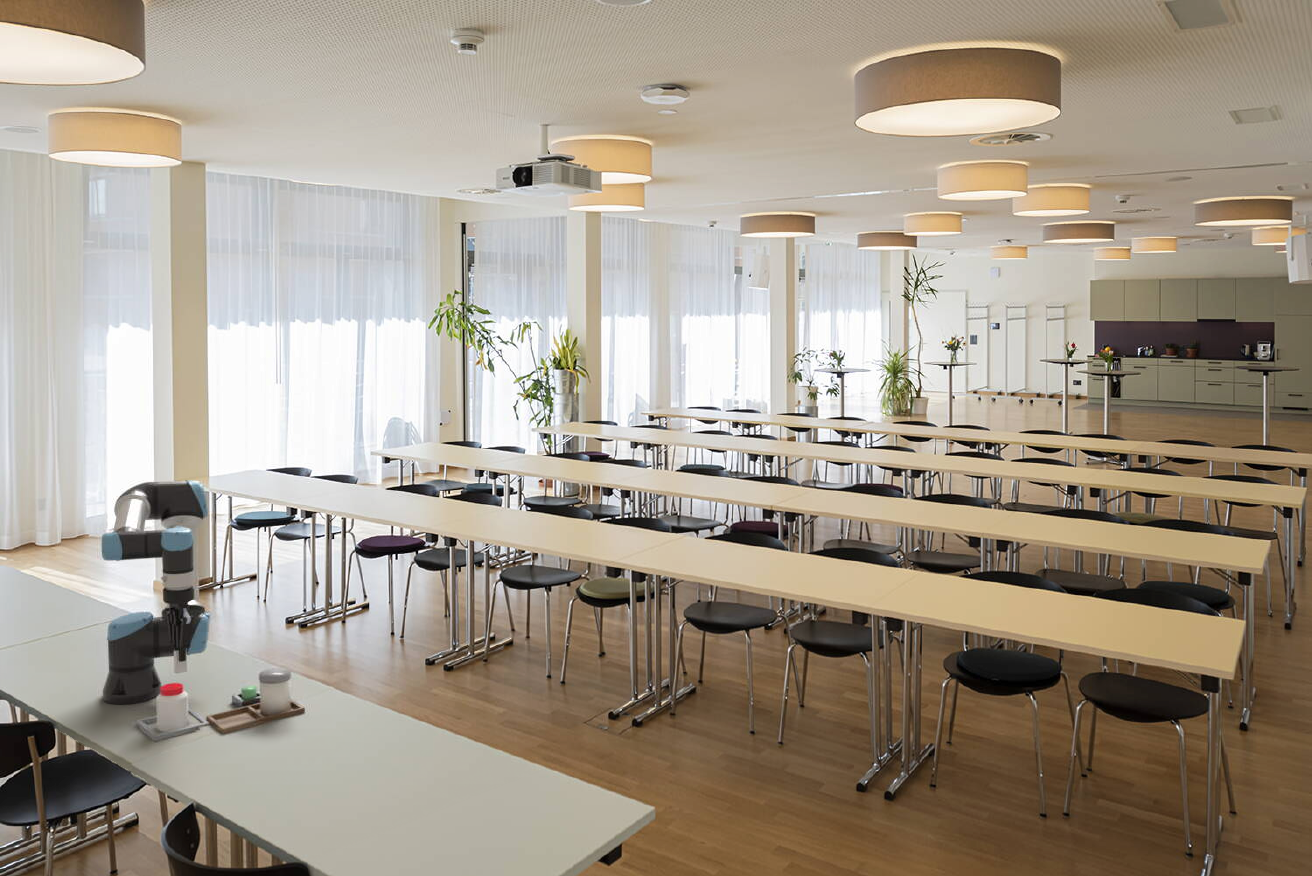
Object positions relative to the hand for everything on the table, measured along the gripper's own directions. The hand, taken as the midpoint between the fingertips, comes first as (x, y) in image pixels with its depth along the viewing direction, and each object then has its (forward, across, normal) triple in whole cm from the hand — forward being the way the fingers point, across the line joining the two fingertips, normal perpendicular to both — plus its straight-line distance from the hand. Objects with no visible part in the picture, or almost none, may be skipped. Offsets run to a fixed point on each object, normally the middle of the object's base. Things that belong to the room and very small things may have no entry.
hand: (180, 671), depth 267 cm
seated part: (+14, +11, +21) cm, 27 cm away
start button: (+14, 0, +19) cm, 23 cm away
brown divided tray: (+15, +10, +16) cm, 24 cm away
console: (+15, 0, +19) cm, 24 cm away
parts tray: (+15, 0, -2) cm, 15 cm away
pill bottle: (+15, 0, -2) cm, 15 cm away
